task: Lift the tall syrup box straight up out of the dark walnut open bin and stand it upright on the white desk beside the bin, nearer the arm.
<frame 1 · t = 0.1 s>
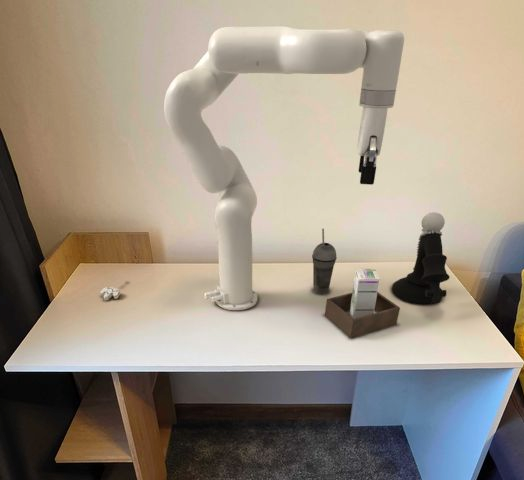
hand: (365, 178, 111), 37 cm above the table, tool pointing down, fingers open, 9 cm apart
sculpture: (420, 300, 138), on the table
syrup box: (359, 320, 128), resting in bin
beverage cup: (320, 291, 141), on the table
bin: (360, 320, 128), on the table
white flower stem: (117, 292, 139), on the table
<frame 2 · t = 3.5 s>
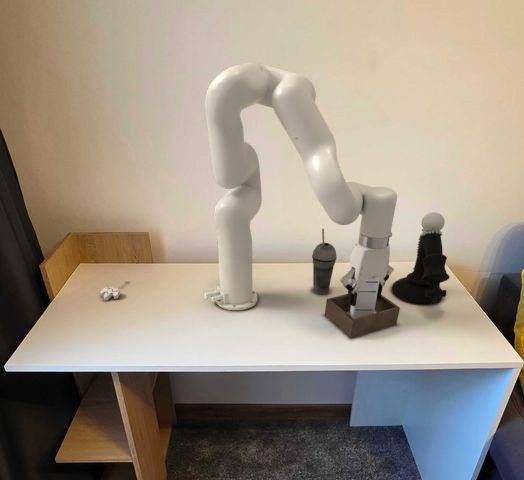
hand: (363, 300, 124), 6 cm above the table, tool pointing down, fingers closed on syrup box, 7 cm apart
syrup box: (360, 320, 128), resting in bin, touching gripper
everything else where it was.
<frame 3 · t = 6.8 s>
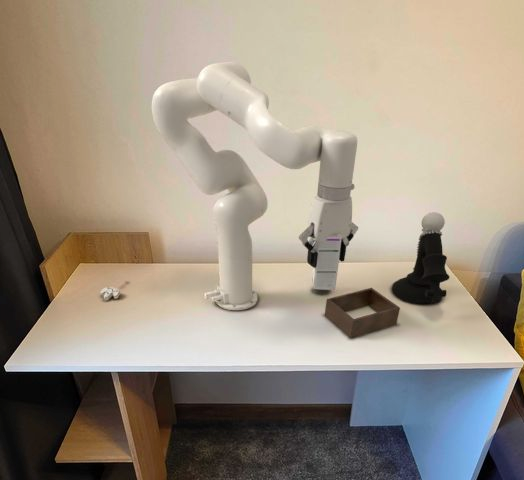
hand: (325, 261, 114), 19 cm above the table, tool pointing down, fingers closed on syrup box, 7 cm apart
syrup box: (323, 285, 118), point 12 cm above the table, touching gripper
everything else where it was.
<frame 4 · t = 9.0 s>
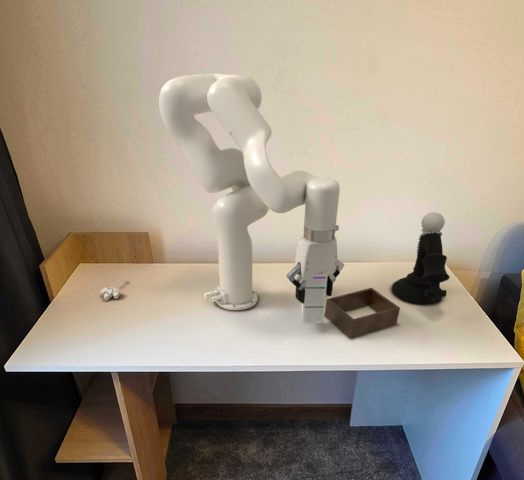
hand: (313, 297, 119), 9 cm above the table, tool pointing down, fingers closed on syrup box, 7 cm apart
syrup box: (311, 318, 123), point 3 cm above the table, touching gripper
everything else where it was.
when the fingers open (6 cm above the table, at t = 10.4 s): syrup box stays where it is, on the table.
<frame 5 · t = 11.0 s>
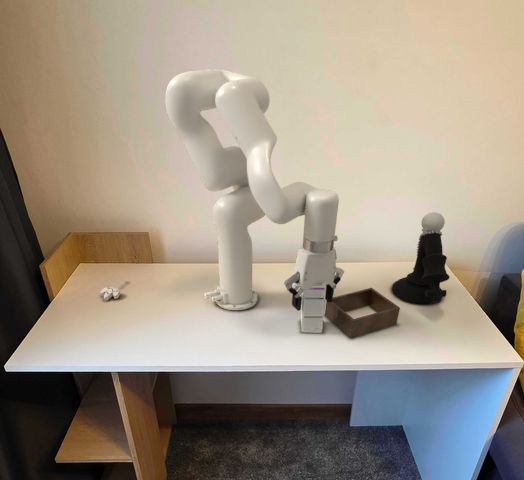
hand: (312, 304, 121), 7 cm above the table, tool pointing down, fingers open, 9 cm apart
syrup box: (310, 327, 125), on the table
everything else where it was.
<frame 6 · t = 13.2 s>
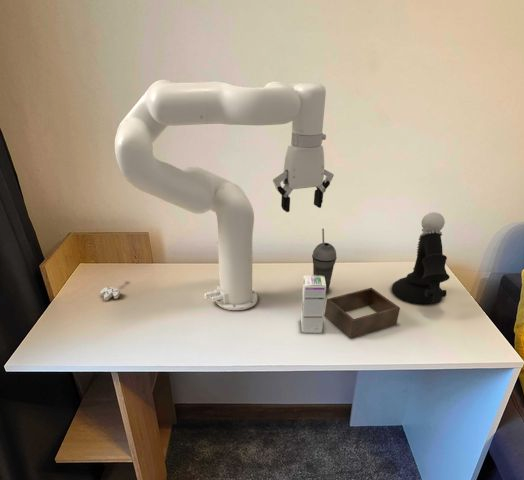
hand: (301, 208, 123), 27 cm above the table, tool pointing down, fingers open, 9 cm apart
nothing on the table moved.
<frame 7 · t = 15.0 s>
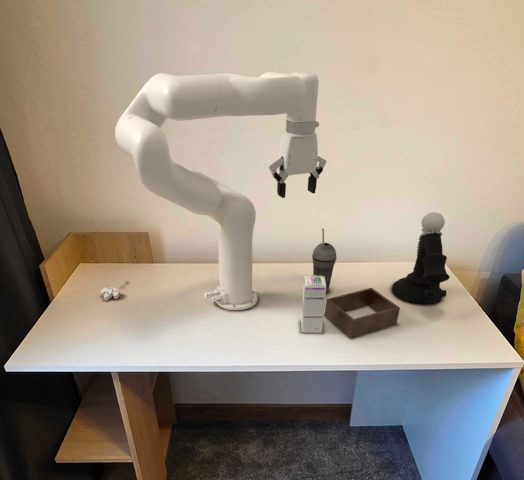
hand: (296, 194, 128), 28 cm above the table, tool pointing down, fingers open, 9 cm apart
nothing on the table moved.
at the end: syrup box inside the target area (0.2 cm from its centre), on the table; syrup box tilted 0°; syrup box touching table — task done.
